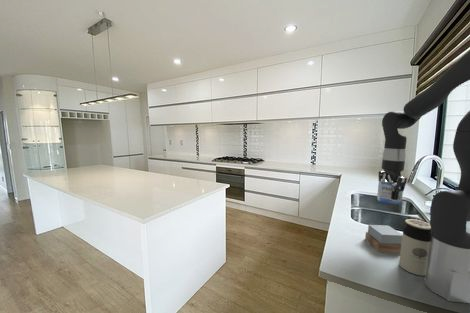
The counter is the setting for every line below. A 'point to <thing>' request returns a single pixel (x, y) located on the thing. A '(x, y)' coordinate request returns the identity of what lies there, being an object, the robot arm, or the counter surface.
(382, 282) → the counter surface
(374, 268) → the counter surface
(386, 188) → the medicine box
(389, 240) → the tower top block
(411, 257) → the travel mug
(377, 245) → the tower base block
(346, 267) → the counter surface
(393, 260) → the counter surface
